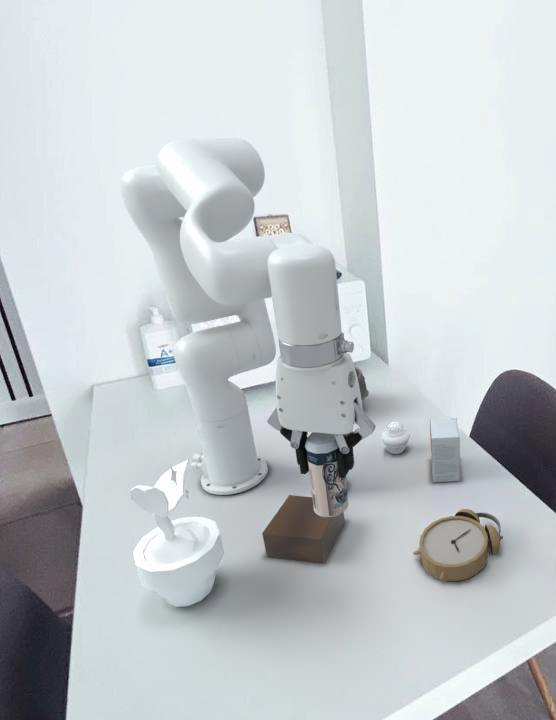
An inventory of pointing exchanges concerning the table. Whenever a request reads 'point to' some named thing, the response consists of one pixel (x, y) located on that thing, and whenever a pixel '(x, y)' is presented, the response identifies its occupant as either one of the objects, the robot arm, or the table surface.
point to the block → (301, 531)
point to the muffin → (395, 437)
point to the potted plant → (176, 544)
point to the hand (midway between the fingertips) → (326, 469)
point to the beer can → (325, 475)
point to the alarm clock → (458, 545)
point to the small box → (445, 449)
